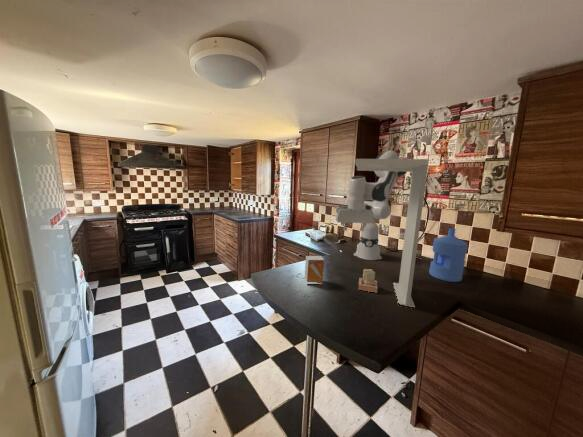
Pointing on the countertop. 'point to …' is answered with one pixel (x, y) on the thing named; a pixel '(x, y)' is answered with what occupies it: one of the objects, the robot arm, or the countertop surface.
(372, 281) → the peg
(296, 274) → the countertop surface
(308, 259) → the small box
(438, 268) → the water jug
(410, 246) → the stand
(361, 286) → the socket
